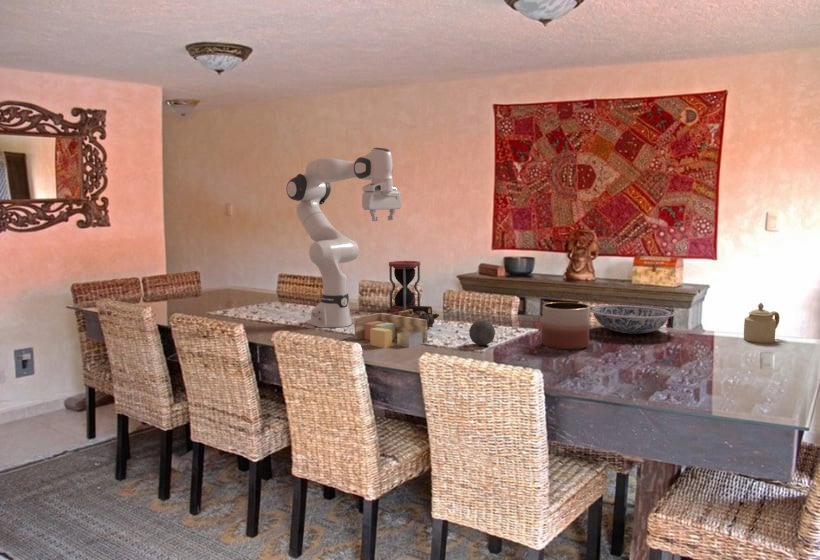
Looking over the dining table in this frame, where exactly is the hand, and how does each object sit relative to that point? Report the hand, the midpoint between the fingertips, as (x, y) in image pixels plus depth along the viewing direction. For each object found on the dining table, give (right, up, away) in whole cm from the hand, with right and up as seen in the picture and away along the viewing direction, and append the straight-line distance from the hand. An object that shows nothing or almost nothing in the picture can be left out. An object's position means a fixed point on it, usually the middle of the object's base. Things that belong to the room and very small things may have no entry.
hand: (382, 220), depth 276 cm
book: (0, -51, -17) cm, 53 cm away
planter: (+71, -50, -20) cm, 90 cm away
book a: (-3, -49, -3) cm, 49 cm away
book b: (+1, -49, -7) cm, 50 cm away
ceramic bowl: (+104, -47, +3) cm, 114 cm away
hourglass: (+9, -41, +62) cm, 75 cm away
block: (+11, -50, -16) cm, 54 cm away
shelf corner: (+4, -49, -9) cm, 50 cm away
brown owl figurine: (+15, -47, +11) cm, 51 cm away
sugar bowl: (+151, -49, -12) cm, 159 cm away
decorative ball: (+39, -50, -18) cm, 67 cm away
